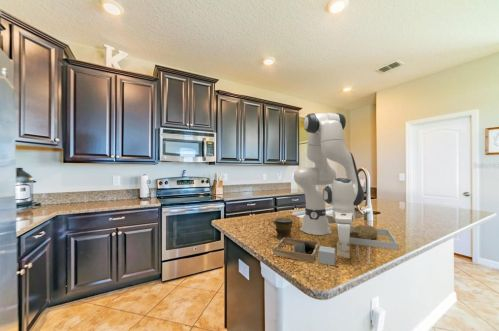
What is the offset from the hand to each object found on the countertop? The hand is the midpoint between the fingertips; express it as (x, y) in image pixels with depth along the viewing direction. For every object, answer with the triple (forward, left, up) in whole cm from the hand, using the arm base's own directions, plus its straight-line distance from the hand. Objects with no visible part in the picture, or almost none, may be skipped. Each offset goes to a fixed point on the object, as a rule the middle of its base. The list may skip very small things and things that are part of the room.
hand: (344, 246), depth 93 cm
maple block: (-1, -1, -4) cm, 4 cm away
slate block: (+9, -7, -4) cm, 12 cm away
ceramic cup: (-13, -33, -4) cm, 35 cm away
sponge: (-30, +9, -4) cm, 32 cm away
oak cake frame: (+4, -20, -4) cm, 21 cm away
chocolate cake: (+5, -17, -4) cm, 18 cm away
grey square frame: (-30, +10, -4) cm, 32 cm away
